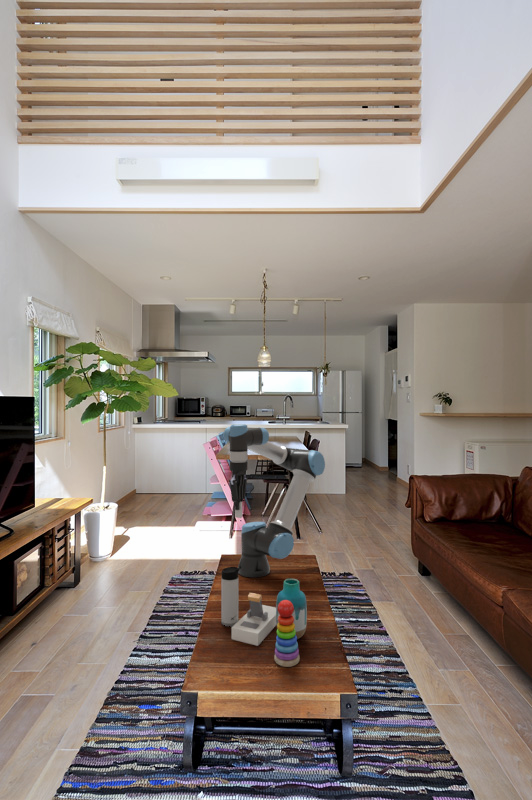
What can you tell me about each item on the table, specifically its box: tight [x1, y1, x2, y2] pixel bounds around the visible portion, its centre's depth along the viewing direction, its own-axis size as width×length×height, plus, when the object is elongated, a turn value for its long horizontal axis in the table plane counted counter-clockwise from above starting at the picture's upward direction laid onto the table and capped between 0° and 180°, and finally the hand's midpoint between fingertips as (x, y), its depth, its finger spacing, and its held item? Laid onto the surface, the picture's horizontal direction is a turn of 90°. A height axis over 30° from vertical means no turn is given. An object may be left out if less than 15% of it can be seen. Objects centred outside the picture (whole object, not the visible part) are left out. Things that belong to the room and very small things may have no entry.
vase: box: [275, 578, 308, 640], centre depth 157 cm, size 11×11×19 cm
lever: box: [247, 592, 263, 618], centre depth 161 cm, size 2×4×9 cm, turn 65°
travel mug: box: [220, 566, 240, 627], centre depth 167 cm, size 6×7×20 cm
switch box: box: [231, 604, 277, 647], centre depth 162 cm, size 20×10×6 cm, turn 155°
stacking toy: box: [273, 600, 301, 668], centre depth 143 cm, size 8×8×19 cm
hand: (238, 517), depth 191 cm, fingers closed
